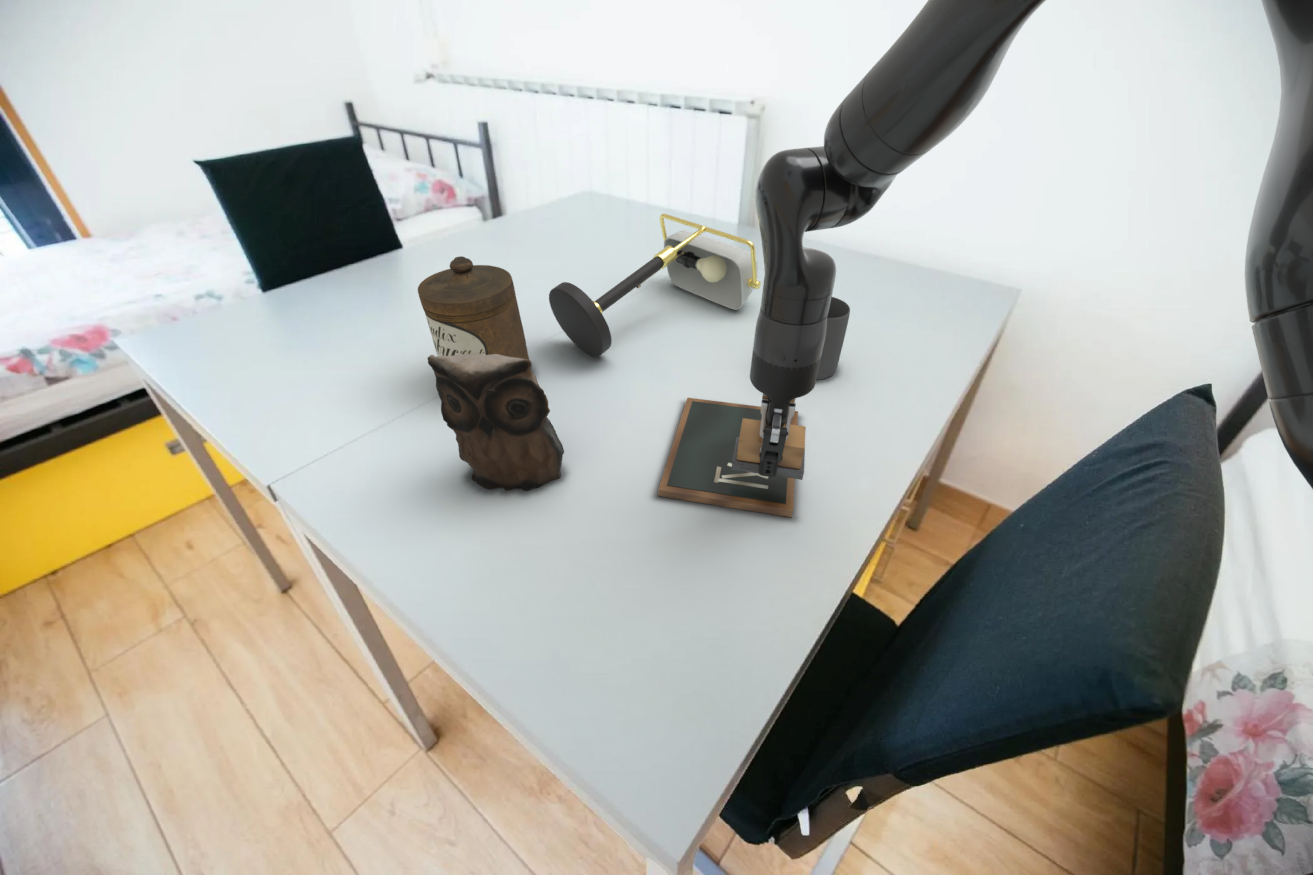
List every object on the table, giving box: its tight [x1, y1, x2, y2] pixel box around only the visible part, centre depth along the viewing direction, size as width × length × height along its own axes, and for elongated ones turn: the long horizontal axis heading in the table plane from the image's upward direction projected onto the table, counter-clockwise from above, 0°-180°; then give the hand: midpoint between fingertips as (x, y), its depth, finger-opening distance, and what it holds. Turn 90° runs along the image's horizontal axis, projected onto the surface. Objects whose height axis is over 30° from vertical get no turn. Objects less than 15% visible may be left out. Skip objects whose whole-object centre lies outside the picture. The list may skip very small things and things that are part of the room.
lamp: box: [548, 213, 762, 358], centre depth 108 cm, size 27×23×40 cm
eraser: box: [732, 418, 806, 481], centre depth 70 cm, size 9×5×5 cm, turn 77°
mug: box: [816, 296, 851, 381], centre depth 94 cm, size 14×9×12 cm
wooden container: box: [417, 256, 532, 371], centre depth 90 cm, size 15×15×22 cm
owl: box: [427, 353, 565, 492], centre depth 72 cm, size 13×13×20 cm
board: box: [657, 397, 799, 518], centre depth 80 cm, size 18×22×2 cm
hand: (768, 459), depth 71 cm, fingers closed on eraser, 5 cm apart
